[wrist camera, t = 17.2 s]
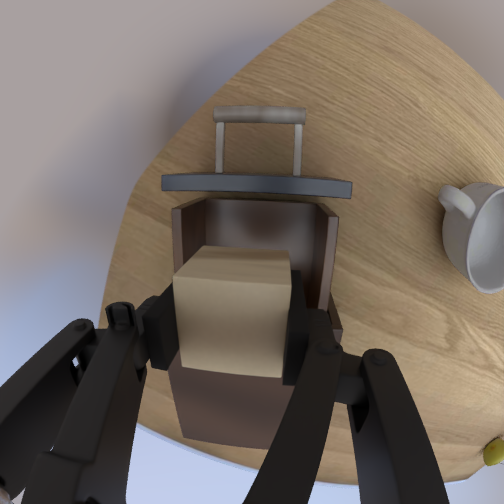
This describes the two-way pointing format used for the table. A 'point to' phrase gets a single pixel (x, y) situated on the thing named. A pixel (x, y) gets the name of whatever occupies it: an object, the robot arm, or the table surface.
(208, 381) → the cabinet
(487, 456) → the apple
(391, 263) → the table surface
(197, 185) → the drawer
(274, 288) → the block
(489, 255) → the teacup
